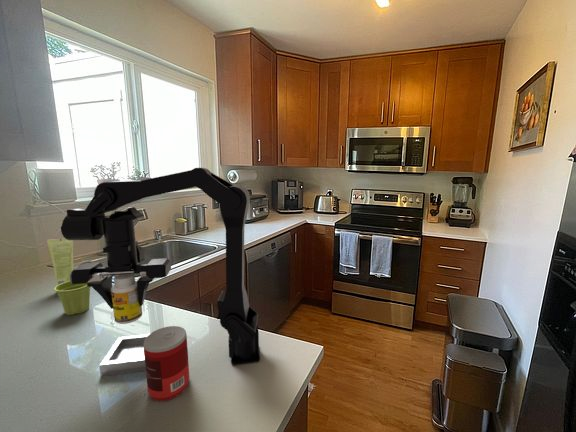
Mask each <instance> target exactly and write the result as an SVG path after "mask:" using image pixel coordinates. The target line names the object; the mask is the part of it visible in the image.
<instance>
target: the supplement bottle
mask: <svg viewBox="0 0 576 432" xmlns="http://www.w3.org/2000/svg"><path fill="white" fill-rule="evenodd" d="M135 277H136V276H135V274H122V275H115V276H114V277H113V284H112V288H111V294H112V302H113V309H112V310H113V317H114V322H115V323H116V324H119V325H128V324H131V323H132V324H133V323H134V322H136V321H138V320H139V319H141V317H142V316H143V305H142V306H140V305H139V300H138V288H137V281H138V280H136V278H135Z"/></svg>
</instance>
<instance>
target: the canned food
mask: <svg viewBox="0 0 576 432" xmlns="http://www.w3.org/2000/svg"><path fill="white" fill-rule="evenodd" d="M148 334H149V335H148V336H147V337H146V338H145V340H144V346H143V347H144V358H145V368H146V371H145V376H146V387H147V393H148V395H149V396H150V398H151V399H152V400H153V401H156V402H162V401H163V402H164V401H165V402H166V401H170V400H173V399H174V398H177V397H178V396H179V395H181V394H182V393H183V392H184V391H185V390H186V389H187V387H188V385H189V381H190V368H189V367H190V365H189V350H188V338H187V337H188V335H187V331H186V329H185V328H184V327H182V326H178V325H177V326H176V325H170V326H165V327H164V326H163V327H160V328H158V329H156V330H154V331H152V332H150V333H148Z"/></svg>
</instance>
